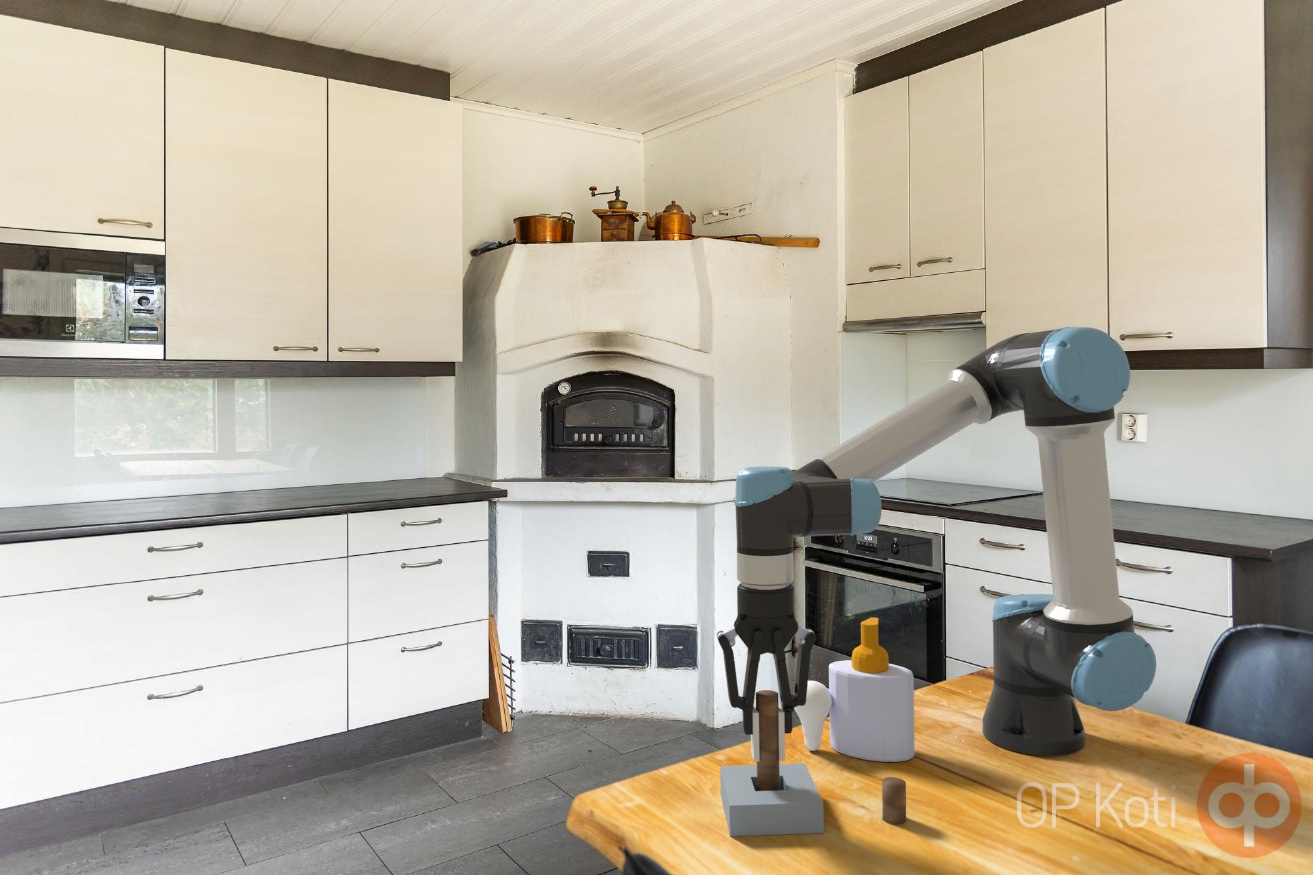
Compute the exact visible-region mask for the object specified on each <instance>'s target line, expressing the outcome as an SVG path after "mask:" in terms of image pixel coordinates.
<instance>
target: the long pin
mask: <svg viewBox="0 0 1313 875" xmlns="http://www.w3.org/2000/svg"><path fill="white" fill-rule="evenodd" d="M778 705H779V693H778V691H775V690H771V689H764V690H758V691H755V706H756V710H757V711H758V712H759V761H756V765H757V791H776V790H780V777H779V764H780V761H779V754H778V710H779V708H778Z"/></svg>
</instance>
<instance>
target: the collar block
mask: <svg viewBox="0 0 1313 875" xmlns="http://www.w3.org/2000/svg"><path fill="white" fill-rule="evenodd" d="M719 768H720V769H719V772H720V773H719V776H720V777H719V778H720V796H721V797H720V798H721V801H722V807H723V811H724V815H725V820H726V825H727V828H728V832H729V833H728V834H729V837H748V836H751V837H752V836H775V835H778V836H779V835H780V836H781V835H804V834H805V835H807V834H824V833H825V831H824V829H825V826H824V821H825V819H824V818H825V817H824V801H823V799H822V797H821V794H820V793H819V790H818V789H817V786H816V783H815V782H814V780H813V777H812V776H811V774H810V771H809V768H808V767H807V765H806V763H805V762H802V763H798V762H797V763H779V777H780V790H776V791H757V764H745V765H719Z"/></svg>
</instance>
